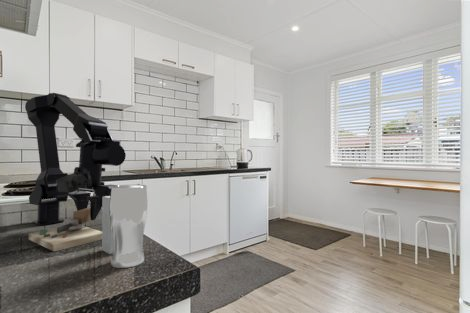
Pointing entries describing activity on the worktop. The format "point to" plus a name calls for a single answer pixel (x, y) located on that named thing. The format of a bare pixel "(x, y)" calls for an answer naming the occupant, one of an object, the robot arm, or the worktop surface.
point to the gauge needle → (76, 220)
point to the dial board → (65, 238)
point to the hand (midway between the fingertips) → (87, 219)
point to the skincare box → (106, 227)
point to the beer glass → (128, 224)
